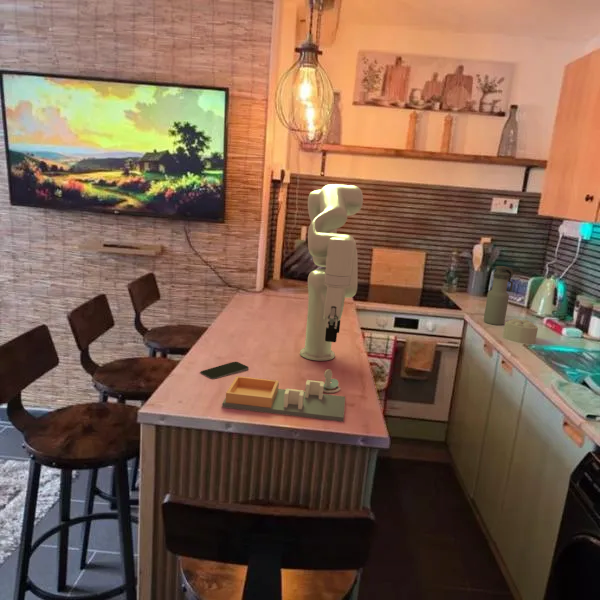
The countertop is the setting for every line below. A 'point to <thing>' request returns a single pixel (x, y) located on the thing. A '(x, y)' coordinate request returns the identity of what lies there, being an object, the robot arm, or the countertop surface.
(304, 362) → the countertop surface
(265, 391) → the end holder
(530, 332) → the lumpy-topped squat cylinder
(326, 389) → the pacifier
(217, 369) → the smartphone
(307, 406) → the board
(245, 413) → the countertop surface
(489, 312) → the water bottle
